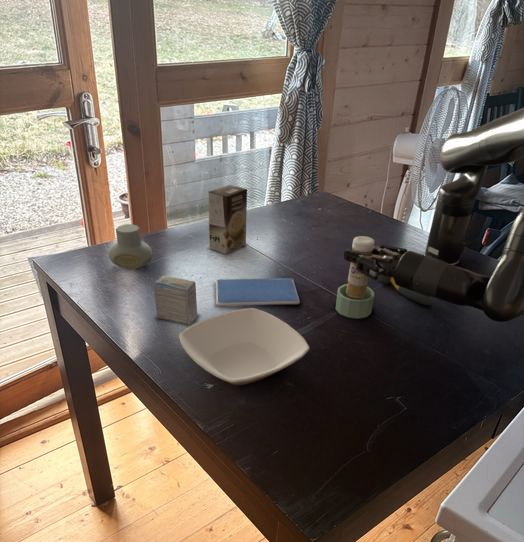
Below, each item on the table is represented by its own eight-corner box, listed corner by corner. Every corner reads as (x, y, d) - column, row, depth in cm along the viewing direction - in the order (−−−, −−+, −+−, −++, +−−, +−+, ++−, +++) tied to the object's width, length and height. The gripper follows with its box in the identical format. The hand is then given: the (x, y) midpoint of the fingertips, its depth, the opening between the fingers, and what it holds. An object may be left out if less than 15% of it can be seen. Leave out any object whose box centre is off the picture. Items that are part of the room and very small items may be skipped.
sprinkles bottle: (342, 295, 117) (349, 239, 109) (352, 288, 120) (360, 233, 112) (359, 302, 115) (368, 245, 107) (369, 294, 118) (379, 239, 110)
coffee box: (226, 254, 141) (226, 197, 132) (208, 248, 144) (207, 191, 135) (246, 244, 148) (247, 188, 138) (229, 238, 150) (229, 183, 141)
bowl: (167, 354, 102) (165, 332, 99) (254, 322, 113) (255, 301, 110) (228, 414, 88) (228, 391, 85) (321, 371, 99) (324, 348, 96)
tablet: (216, 308, 117) (216, 303, 117) (215, 282, 128) (215, 277, 127) (300, 306, 119) (300, 302, 118) (292, 281, 129) (292, 277, 129)
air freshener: (155, 258, 138) (152, 222, 132) (150, 272, 131) (147, 235, 125) (114, 257, 137) (109, 221, 132) (107, 271, 131) (101, 234, 125)
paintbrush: (440, 304, 123) (445, 285, 120) (427, 310, 120) (431, 291, 117) (377, 273, 135) (380, 255, 132) (364, 278, 133) (367, 260, 130)
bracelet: (347, 297, 124) (350, 280, 121) (377, 308, 120) (380, 291, 117) (328, 309, 119) (330, 292, 116) (359, 322, 115) (362, 304, 112)
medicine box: (197, 316, 114) (196, 281, 109) (189, 325, 111) (187, 290, 106) (166, 309, 116) (163, 274, 111) (156, 318, 113) (153, 283, 108)
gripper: (442, 246, 107) (369, 225, 115) (411, 269, 98) (335, 244, 106) (434, 279, 111) (364, 256, 120) (403, 303, 102) (331, 277, 111)
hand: (351, 250), depth 113 cm, fingers closed on sprinkles bottle, 4 cm apart
